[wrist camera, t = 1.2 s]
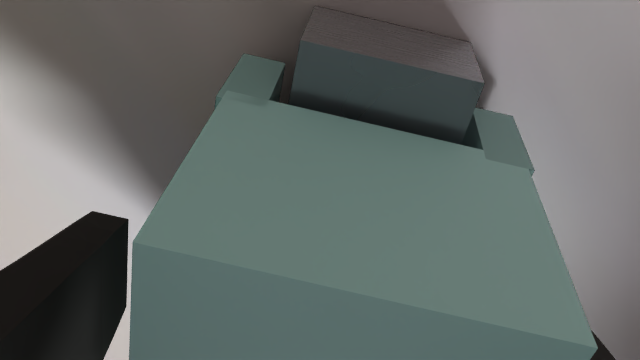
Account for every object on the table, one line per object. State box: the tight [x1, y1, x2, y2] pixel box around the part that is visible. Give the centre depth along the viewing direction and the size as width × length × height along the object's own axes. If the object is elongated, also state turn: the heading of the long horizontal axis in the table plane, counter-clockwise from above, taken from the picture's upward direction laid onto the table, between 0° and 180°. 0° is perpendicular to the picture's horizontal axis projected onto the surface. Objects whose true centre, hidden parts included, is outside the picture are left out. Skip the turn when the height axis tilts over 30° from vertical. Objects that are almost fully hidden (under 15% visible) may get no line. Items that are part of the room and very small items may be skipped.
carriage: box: [129, 53, 598, 360], centre depth 10 cm, size 5×6×6 cm
